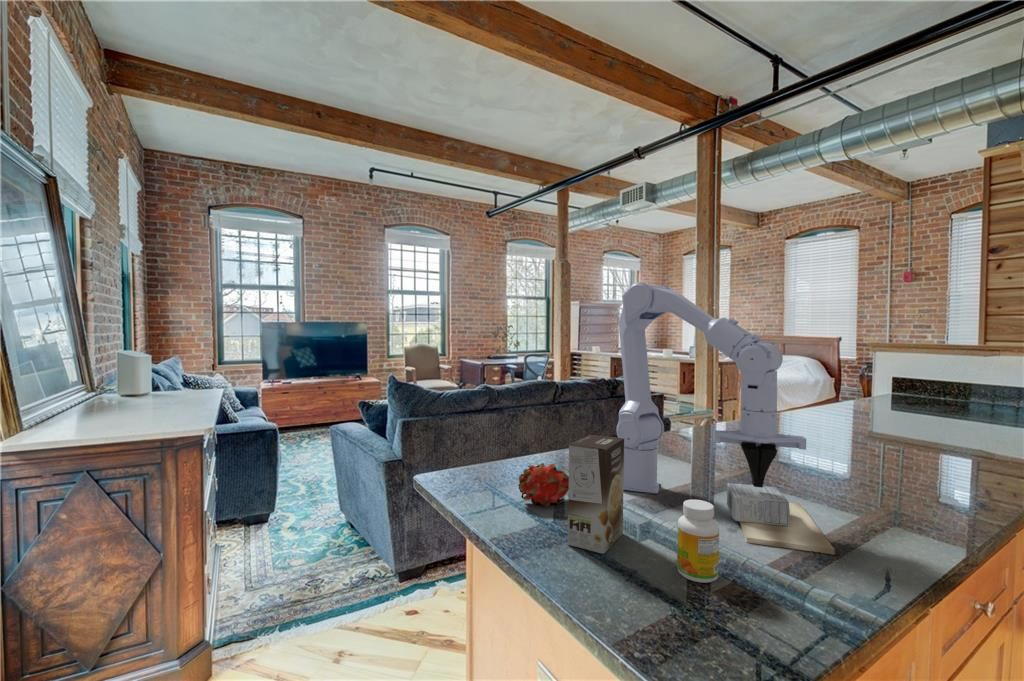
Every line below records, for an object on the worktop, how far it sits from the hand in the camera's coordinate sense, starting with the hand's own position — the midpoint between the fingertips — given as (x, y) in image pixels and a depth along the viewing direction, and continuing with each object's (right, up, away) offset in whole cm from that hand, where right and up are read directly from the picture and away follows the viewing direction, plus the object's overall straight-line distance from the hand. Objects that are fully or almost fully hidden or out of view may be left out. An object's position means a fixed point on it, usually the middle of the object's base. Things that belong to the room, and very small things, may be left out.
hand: (757, 485), depth 82 cm
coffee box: (-30, -7, -7) cm, 32 cm away
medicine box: (-4, -3, +2) cm, 6 cm away
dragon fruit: (-37, -6, +9) cm, 39 cm away
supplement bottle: (-18, -7, -18) cm, 26 cm away
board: (+3, -6, -1) cm, 7 cm away
